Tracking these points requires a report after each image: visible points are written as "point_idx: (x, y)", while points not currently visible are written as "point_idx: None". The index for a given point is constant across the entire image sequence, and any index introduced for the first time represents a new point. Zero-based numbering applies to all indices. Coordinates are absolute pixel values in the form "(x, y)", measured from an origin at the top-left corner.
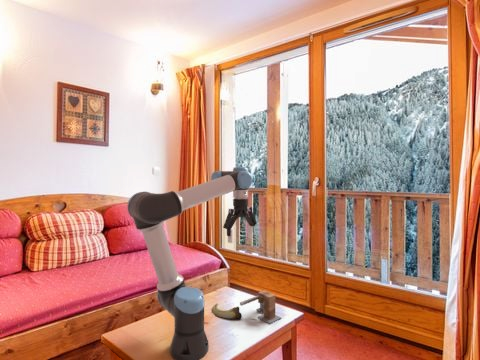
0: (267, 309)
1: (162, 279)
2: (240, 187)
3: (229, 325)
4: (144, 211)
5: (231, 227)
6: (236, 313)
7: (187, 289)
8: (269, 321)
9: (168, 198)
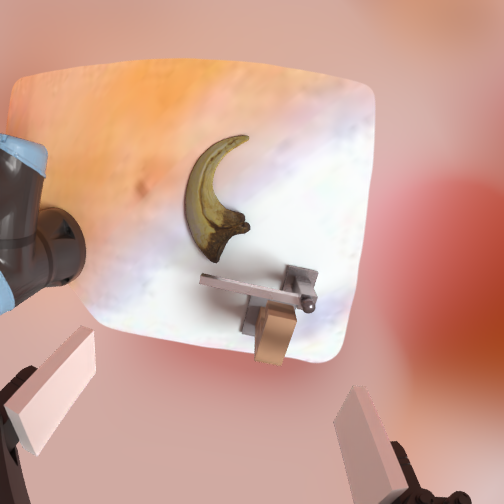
0: (257, 331)
1: None
2: None
3: (170, 252)
4: None
5: (15, 465)
6: (209, 248)
7: None
8: (248, 329)
9: None
